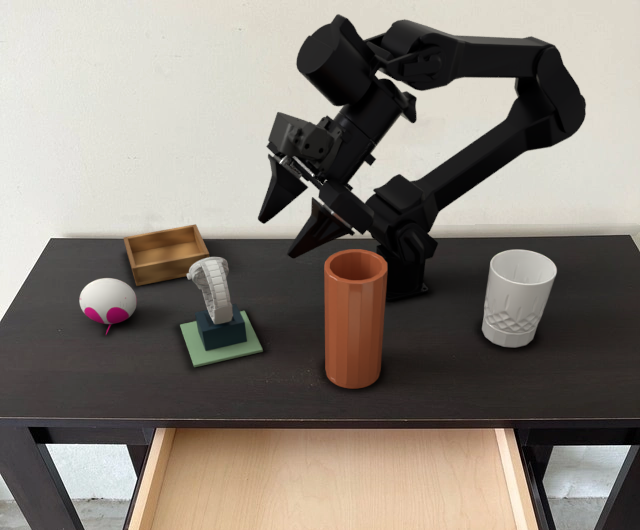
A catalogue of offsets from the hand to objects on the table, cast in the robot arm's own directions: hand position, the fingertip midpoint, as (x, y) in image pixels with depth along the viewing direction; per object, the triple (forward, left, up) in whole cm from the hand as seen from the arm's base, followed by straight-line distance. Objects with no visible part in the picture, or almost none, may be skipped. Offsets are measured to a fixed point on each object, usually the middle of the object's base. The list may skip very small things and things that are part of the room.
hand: (274, 238), depth 80 cm
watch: (+8, +1, -12) cm, 15 cm away
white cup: (-28, +13, -13) cm, 33 cm away
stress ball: (+21, -8, -13) cm, 26 cm away
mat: (+8, +1, -12) cm, 15 cm away
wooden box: (+11, -20, -12) cm, 26 cm away
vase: (-6, +13, -12) cm, 19 cm away
